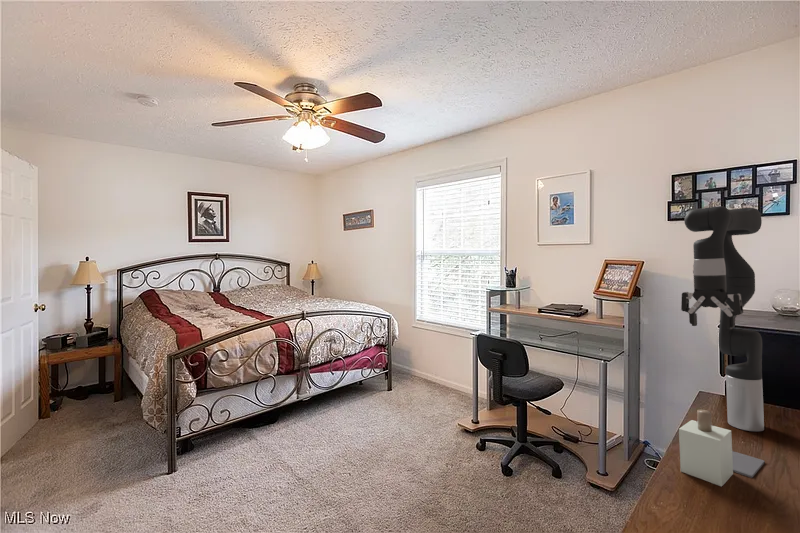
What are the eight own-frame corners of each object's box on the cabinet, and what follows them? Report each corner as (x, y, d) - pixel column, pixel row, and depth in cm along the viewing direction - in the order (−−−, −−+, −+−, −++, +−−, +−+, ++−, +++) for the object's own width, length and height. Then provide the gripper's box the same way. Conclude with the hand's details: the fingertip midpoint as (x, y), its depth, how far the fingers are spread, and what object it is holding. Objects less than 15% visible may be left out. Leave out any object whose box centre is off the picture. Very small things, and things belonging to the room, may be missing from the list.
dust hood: (693, 460, 109) (690, 402, 109) (733, 474, 102) (730, 412, 101) (680, 471, 104) (678, 410, 104) (721, 486, 97) (718, 421, 96)
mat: (712, 446, 116) (711, 444, 116) (764, 462, 106) (764, 460, 106) (697, 459, 109) (697, 457, 109) (752, 478, 99) (751, 475, 99)
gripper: (744, 272, 108) (746, 328, 109) (686, 273, 120) (688, 323, 120) (736, 274, 104) (738, 332, 104) (676, 274, 116) (678, 326, 116)
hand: (711, 327), depth 112 cm, fingers open, 8 cm apart
